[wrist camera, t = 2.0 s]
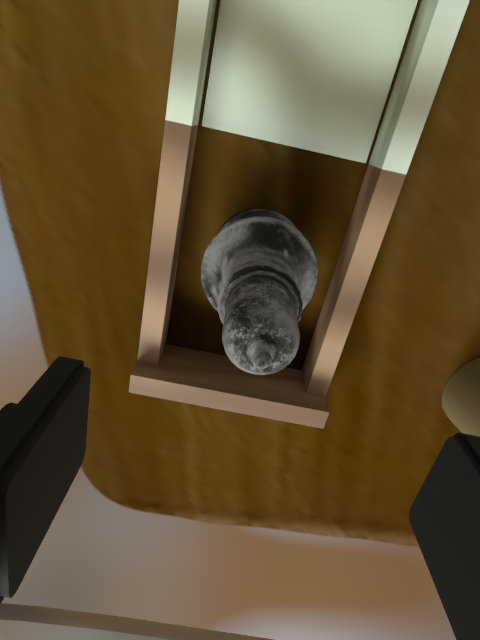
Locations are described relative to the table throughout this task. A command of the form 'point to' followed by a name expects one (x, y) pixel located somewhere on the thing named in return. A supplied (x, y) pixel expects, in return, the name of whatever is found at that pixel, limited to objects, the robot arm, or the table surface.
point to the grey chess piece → (259, 287)
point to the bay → (296, 131)
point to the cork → (464, 398)
